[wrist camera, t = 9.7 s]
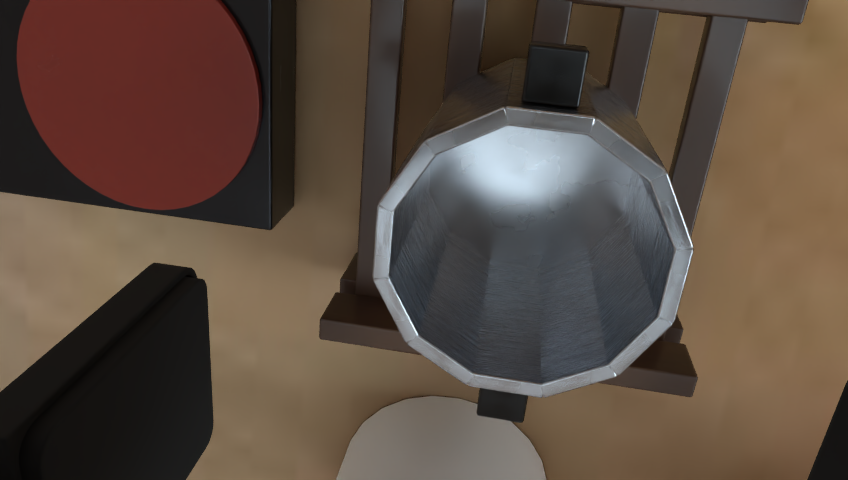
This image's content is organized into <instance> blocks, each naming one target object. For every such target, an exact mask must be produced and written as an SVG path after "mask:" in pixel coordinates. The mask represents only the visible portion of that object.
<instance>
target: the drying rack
mask: <svg viewBox="0 0 848 480" xmlns="http://www.w3.org/2000/svg"><path fill="white" fill-rule="evenodd" d="M808 1H809V0H537V3H536V10H535V17H534V24H533V31H532V38H531V41H541V42H550V43H559V44H566V40H567V34H568V28H569V22H570V16H571V10H572V4H573V3H575V4H584V5H594V6H604V7H614V8H621V10H620V15H619V20H618V25H617V30H616V36H615V41H614V46H613V51H612V57H611V62H610V67H609V72H608V78H607V83H606V87H607V88H609V89H610V90H611V91H613V92H614V93H615V94H617V95H618V96H619V97H620V98H622V99H623V100H624V101H625V102H626V103H627V105H628V107H629V108H630V110H631V112H632V113H633V115H634V117H635V118H637V114H638V109H639V104H640V100H641V95H642V90H643V86H644V81H645V76H646V71H647V67H648V62H649V57H650V53H651V48H652V43H653V39H654V34H655V29H656V25H657V20H658V15H659V12H662V13H672V14H682V15H692V16H701V17H707V18H706V22H705V26H704V30H703V34H702V39H701V43H700V47H699V51H698V55H697V59H696V64H695V68H694V72H693V76H692V80H691V84H690V89H689V93H688V97H687V101H686V105H685V109H684V114H683V118H682V122H681V126H680V130H679V134H678V139H677V143H676V147H675V151H674V155H673V159H672V164H671V168H670V172H669V177H670V180H671V183H672V186H673V188H674V191H675V194H676V197H677V200H678V203H679V205H680V208H681V211H682V214H683V217H684V220H685V222H686V225H687V228H688V231H689V234H690V237H691V235H692V231H693V228H694V224H695V220H696V216H697V212H698V209H699V205H700V201H701V197H702V193H703V190H704V186H705V182H706V178H707V174H708V171H709V167H710V163H711V159H712V155H713V152H714V148H715V144H716V140H717V136H718V133H719V129H720V125H721V121H722V117H723V114H724V110H725V106H726V102H727V98H728V95H729V91H730V87H731V83H732V79H733V76H734V72H735V68H736V64H737V60H738V57H739V53H740V49H741V45H742V41H743V38H744V34H745V30H746V26H747V22H748V21H750V22H760V23H766V22H767V21H768V22H778V23H788V24H797V25H799V24H801V23H802V22H803V18H804V15H805V11H806V8H807V5H808ZM487 8H488V0H453V3H452V13H451V23H450V33H449V43H448V54H447V64H446V74H445V84H444V94H443V102H444V101H445V100H446V98H447V97H448V95H449V94H450V93H451V91H452V90H453V88H454V87H455V86H456V84H458V83H459V82H460V81H462V80H464V79H467V78H469V77H471V76H473V75H476V74H478V73H480V67H481V59H482V50H483V42H484V33H485V25H486V16H487ZM406 12H407V0H371V14H370V32H369V51H368V69H367V88H366V106H365V125H364V143H363V162H362V181H361V199H360V218H359V236H358V253H356V254H355V256H354V258H353V259H352V261H351V263H350V264H349V266H348V268H347V269H346V271H345V272H344V274H343V276H342V277H341V279H340V293H339V292H337V293H335V295H334V296H333V298H332V300H331V301H330V303H329V305H328V307H327V308H326V310H325V312H324V313H323V315H322V317H321V319H320V331H319V337H320V339H323V340H329V341H336V342H342V343H348V344H355V345H361V346H368V347H374V348H380V349H387V350H393V351H399V352H406V353H412V354H418V355H422V354H420V353H419V352H418V351H416V350H415V349H413V348H412V347H410V346H409V345H408V344H407V342H405V341H404V339H403V337H402V335H401V333H400V331H399V329H398V327H397V325H396V323H395V321H394V319H393V318H392V316H391V314H390V312H389V310H388V308H387V306H386V304H385V302H384V300H383V298H382V296H381V294H380V293H379V291H378V289H377V287H376V285H375V283H374V281H373V279H374V278H373V277H372V274H373V258H374V243H375V227H376V212H377V206H378V202H379V201H380V199H381V198H382V196H383V194H384V193H385V191H386V190H387V188H388V186H389V185H390V183H391V182H392V180H393V178H394V175H395V162H396V148H397V134H398V121H399V107H400V94H401V80H402V67H403V53H404V39H405V26H406ZM682 332H683V327H682V325H681V322H680V321H679V318H678V316H677V315H676V318H675V321H674V322H673V324H672V326H671V327H670V328H669V329H668V330H667V331H665V332H664V333H663V334H662V335H661V336H660V337H659V338H658V339H657V340H656V341H655V342H654V343H653V344H652V345H651V346H650V347H649V348H648V349H646V350H645V351H644V352H643V353H642V354H641V355H640V356H639V357H638V358H637V359H636V360H635V361H634V362H633V363H632V364H631V365H630V366H629V367H628V368H626V369H625V370H624V371H623V372H622V373H621V374H620V375H619V376H618V375H617V377H615V378H611V379H608V380H604V381H601V382H597V383H603V384H609V385H616V386H622V387H628V388H635V389H641V390H647V391H654V392H660V393H667V394H673V395H679V396H686V397H692V396H693V392H694V389H695V386H696V382H697V379H698V377H697V374H696V371H695V369H694V366H693V364H692V361H691V358H690V356H689V353H688V350H687V348H686V345H684V344H679V343H680V340H681V336H682Z"/></svg>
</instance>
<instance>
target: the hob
mask: <svg viewBox="0 0 848 480" xmlns="http://www.w3.org/2000/svg"><path fill="white" fill-rule="evenodd" d="M29 1H30V0H0V192H5V193H12V194H19V195H26V196H33V197H41V198H48V199H55V200H62V201H69V202H76V203H83V204H90V205H97V206H104V207H111V208H118V209H125V210H132V211H139V212H146V213H153V214H160V215H168V216H175V217H182V218H189V219H196V220H203V221H210V222H217V223H224V224H231V225H238V226H245V227H252V228H259V229H266V230H272V229H273V228H274V227H275V226H276V225H277V224H278V222H279V221H280V220H281V219H282V218H283V217H284V216H285V215H286V214H287V213H288V212H289V211H290V210H291V209H292V208H293V206H294V135H295V57H296V0H221V1H222V2H223V3H224V5H225V6H226V7H227V9H228V10H229V11H230V13H231V14H232V15H233V17H234V18H235V19H236V21H237V23H238V24H239V26H240V28H241V29H242V31H243V33H244V35H245V37H246V39H247V41H248V43H249V46H250V48H251V50H252V52H253V55H254V59H255V62H256V65H257V68H258V73H259V78H260V83H261V92H262V117H261V124H260V129H259V135H258V138H257V141H256V144H255V147H254V150H253V152H252V154H251V156H250V158H249V159H248V161H247V163H246V165H245V166H244V167H243V169H242V170H241V172H240V173H239V174H238V176H237V177H236V178H235V179H234V180H233V181H232V182H231V183H230V184H229V185H228V186H226V187H225V188H224V189H222V190H221V191H220V192H218V193H217V194H216V195H214V196H212V197H210V198H208V199H207V200H205V201H203V202H200V203H197V204H195V205H192V206H189V207H184V208H179V209H170V210H154V209H144V208H139V207H134V206H130V205H127V204H124V203H121V202H118V201H115V200H113V199H111V198H109V197H107V196H105V195H102V194H101V193H99V192H97V191H96V190H94V189H92V188H91V187H89V186H88V185H86V184H85V183H84V182H82V181H81V180H80V179H78V178H77V177H76V176H74V175H73V174H72V173H71V172H70V171H69V170H68V169H67V168H66V167H65V166H64V165H63V164H62V163H61V162H60V161H59V160H58V159H57V157H56V156H55V155H54V154H53V153H52V152H51V150H50V149H49V147H48V146H47V145H46V143H45V142H44V140H43V139H42V137H41V136H40V134H39V132H38V130H37V129H36V127H35V125H34V123H33V121H32V119H31V117H30V114H29V112H28V110H27V108H26V105H25V101H24V98H23V95H22V92H21V87H20V83H19V78H18V69H17V41H18V35H19V29H20V25H21V21H22V18H23V15H24V12H25V10H26V8H27V6H28V4H29Z"/></svg>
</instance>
